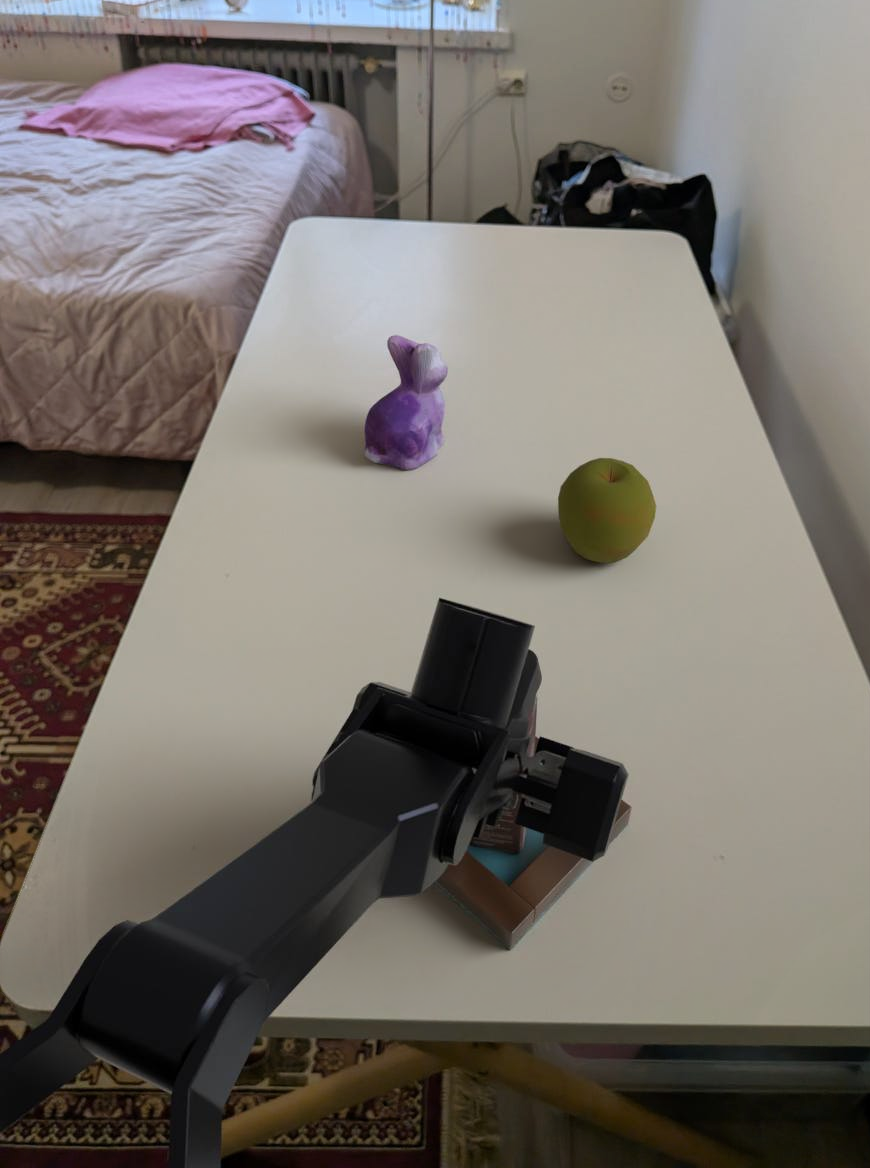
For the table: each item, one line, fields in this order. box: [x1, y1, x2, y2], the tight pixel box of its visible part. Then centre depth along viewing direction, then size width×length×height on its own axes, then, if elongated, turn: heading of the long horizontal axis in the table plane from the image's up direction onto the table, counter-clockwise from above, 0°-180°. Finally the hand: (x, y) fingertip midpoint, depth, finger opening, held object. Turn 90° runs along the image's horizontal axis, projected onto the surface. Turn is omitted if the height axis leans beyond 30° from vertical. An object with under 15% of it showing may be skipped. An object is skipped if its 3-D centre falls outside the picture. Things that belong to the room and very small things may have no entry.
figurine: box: [364, 334, 449, 471], centre depth 109 cm, size 9×10×15 cm
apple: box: [557, 457, 657, 564], centre depth 97 cm, size 10×10×11 cm
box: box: [469, 693, 538, 853], centre depth 71 cm, size 6×4×12 cm
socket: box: [434, 735, 632, 951], centre depth 74 cm, size 14×15×2 cm
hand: (507, 755), depth 71 cm, fingers closed on box, 5 cm apart
